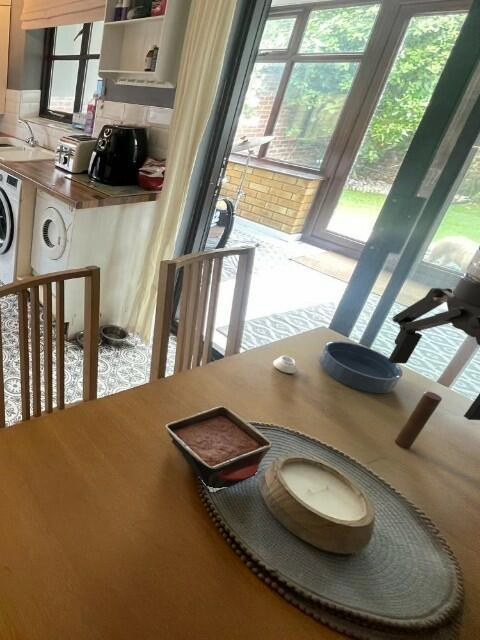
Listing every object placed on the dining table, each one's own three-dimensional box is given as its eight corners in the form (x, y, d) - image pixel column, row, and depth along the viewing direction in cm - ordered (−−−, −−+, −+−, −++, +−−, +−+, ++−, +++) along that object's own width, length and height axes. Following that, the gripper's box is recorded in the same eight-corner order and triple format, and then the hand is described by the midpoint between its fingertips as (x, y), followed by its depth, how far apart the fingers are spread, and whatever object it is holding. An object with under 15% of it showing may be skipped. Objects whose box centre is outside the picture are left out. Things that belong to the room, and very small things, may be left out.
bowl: (393, 373, 109) (402, 358, 107) (393, 404, 99) (402, 389, 97) (321, 348, 118) (328, 334, 116) (314, 374, 108) (321, 360, 106)
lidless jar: (285, 361, 113) (268, 362, 113) (289, 353, 112) (272, 353, 112) (300, 374, 109) (282, 374, 108) (304, 365, 107) (285, 366, 107)
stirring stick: (409, 444, 89) (441, 395, 83) (409, 451, 87) (442, 402, 81) (394, 438, 90) (424, 389, 84) (394, 444, 88) (425, 395, 83)
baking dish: (153, 444, 91) (158, 416, 85) (222, 420, 93) (231, 391, 88) (200, 509, 79) (210, 480, 73) (278, 479, 81) (293, 449, 76)
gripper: (399, 247, 74) (352, 343, 83) (582, 328, 51) (490, 447, 60) (442, 248, 73) (390, 343, 83) (645, 329, 51) (543, 449, 60)
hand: (432, 387), depth 71 cm, fingers open, 13 cm apart
